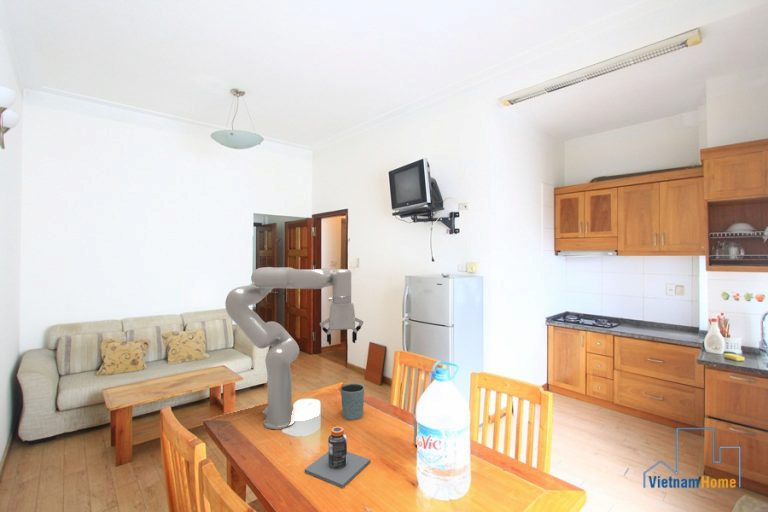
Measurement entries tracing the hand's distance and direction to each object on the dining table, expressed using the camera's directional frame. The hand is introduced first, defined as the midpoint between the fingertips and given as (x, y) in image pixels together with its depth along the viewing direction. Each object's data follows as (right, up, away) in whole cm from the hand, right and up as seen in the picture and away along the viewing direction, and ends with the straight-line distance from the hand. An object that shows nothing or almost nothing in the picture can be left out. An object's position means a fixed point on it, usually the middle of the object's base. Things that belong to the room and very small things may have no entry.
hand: (341, 343), depth 142 cm
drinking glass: (+3, -34, +10) cm, 35 cm away
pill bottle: (+2, -33, -27) cm, 42 cm away
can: (+31, -34, -14) cm, 48 cm away
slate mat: (+2, -33, -27) cm, 43 cm away
